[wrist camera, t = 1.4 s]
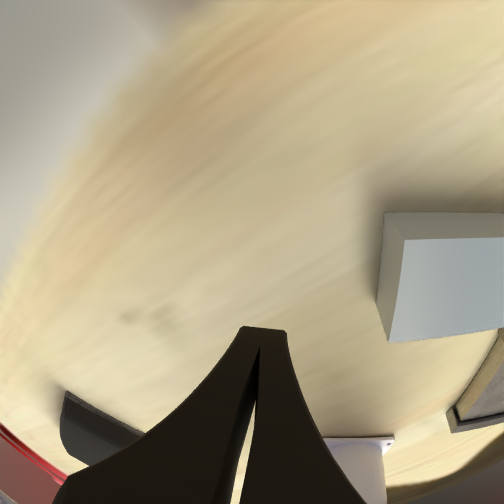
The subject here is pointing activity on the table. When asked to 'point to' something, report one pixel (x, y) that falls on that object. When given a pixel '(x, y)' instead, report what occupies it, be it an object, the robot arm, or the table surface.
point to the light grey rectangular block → (441, 274)
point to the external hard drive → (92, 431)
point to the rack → (482, 394)
